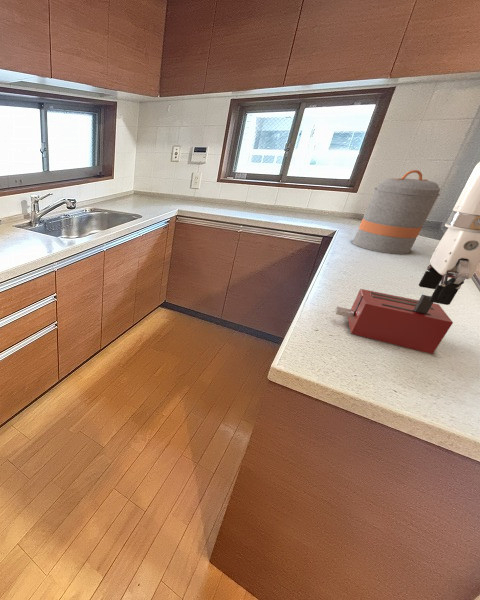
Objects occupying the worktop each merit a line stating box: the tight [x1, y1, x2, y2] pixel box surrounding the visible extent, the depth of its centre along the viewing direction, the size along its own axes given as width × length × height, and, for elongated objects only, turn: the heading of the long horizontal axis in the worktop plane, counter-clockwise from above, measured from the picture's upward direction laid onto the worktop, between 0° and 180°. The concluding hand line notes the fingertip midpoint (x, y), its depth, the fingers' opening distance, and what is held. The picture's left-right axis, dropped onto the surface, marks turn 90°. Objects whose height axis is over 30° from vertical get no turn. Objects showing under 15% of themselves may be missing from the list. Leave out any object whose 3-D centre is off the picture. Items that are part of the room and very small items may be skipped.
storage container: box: [352, 169, 441, 255], centre depth 150 cm, size 22×22×35 cm
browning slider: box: [414, 294, 434, 314], centre depth 77 cm, size 2×2×4 cm
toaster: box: [347, 288, 454, 355], centre depth 84 cm, size 16×11×9 cm
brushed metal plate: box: [335, 306, 354, 318], centre depth 89 cm, size 4×3×1 cm
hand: (432, 294), depth 76 cm, fingers open, 9 cm apart
